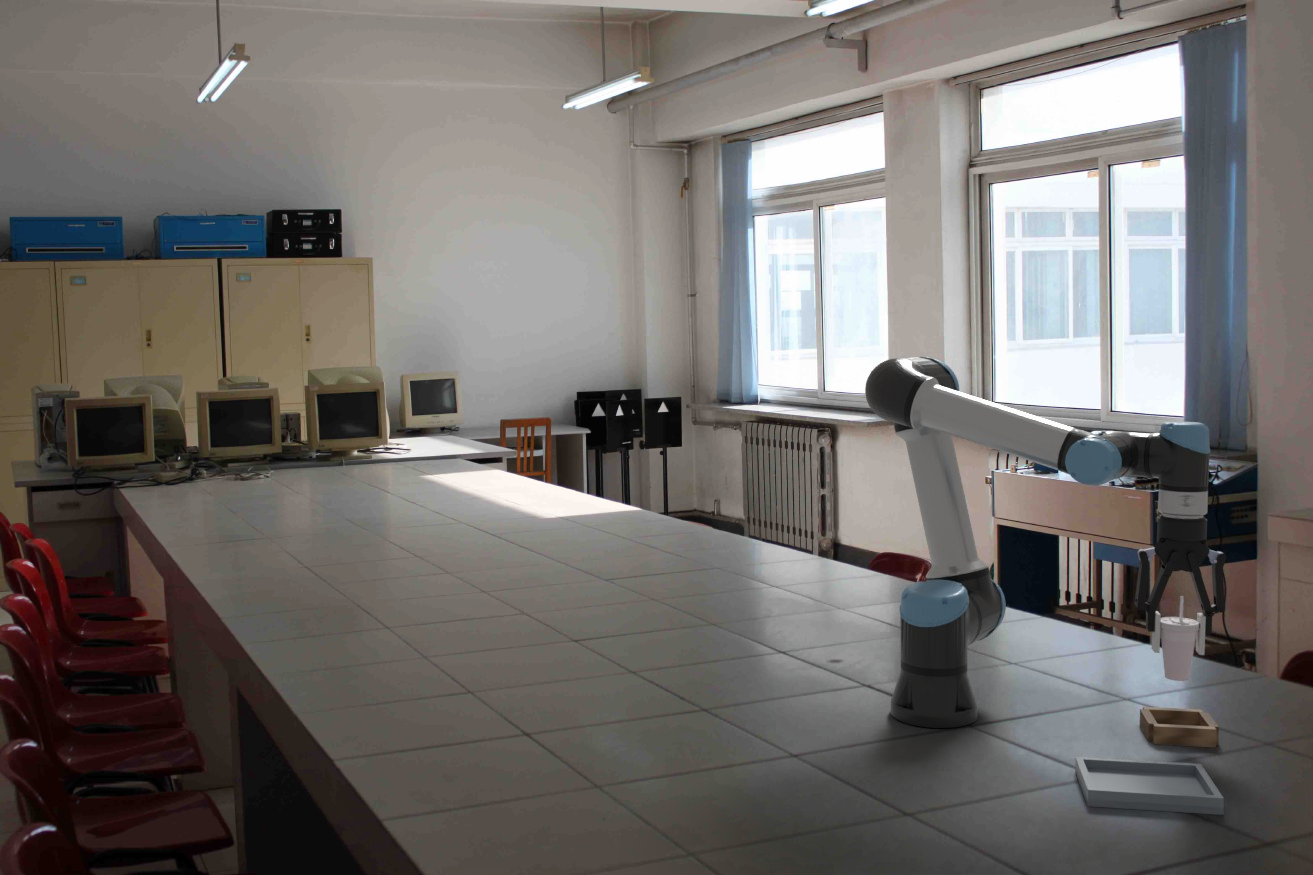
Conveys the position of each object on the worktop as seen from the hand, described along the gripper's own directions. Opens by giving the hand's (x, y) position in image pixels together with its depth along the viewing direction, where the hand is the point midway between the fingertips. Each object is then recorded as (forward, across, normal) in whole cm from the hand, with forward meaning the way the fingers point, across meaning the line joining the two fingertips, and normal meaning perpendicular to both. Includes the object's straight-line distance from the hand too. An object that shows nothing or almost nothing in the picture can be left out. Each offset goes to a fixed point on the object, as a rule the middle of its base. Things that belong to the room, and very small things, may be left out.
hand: (1177, 651), depth 200 cm
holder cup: (+14, 0, 0) cm, 14 cm away
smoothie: (+5, 0, 0) cm, 5 cm away
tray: (+14, -10, -28) cm, 33 cm away
